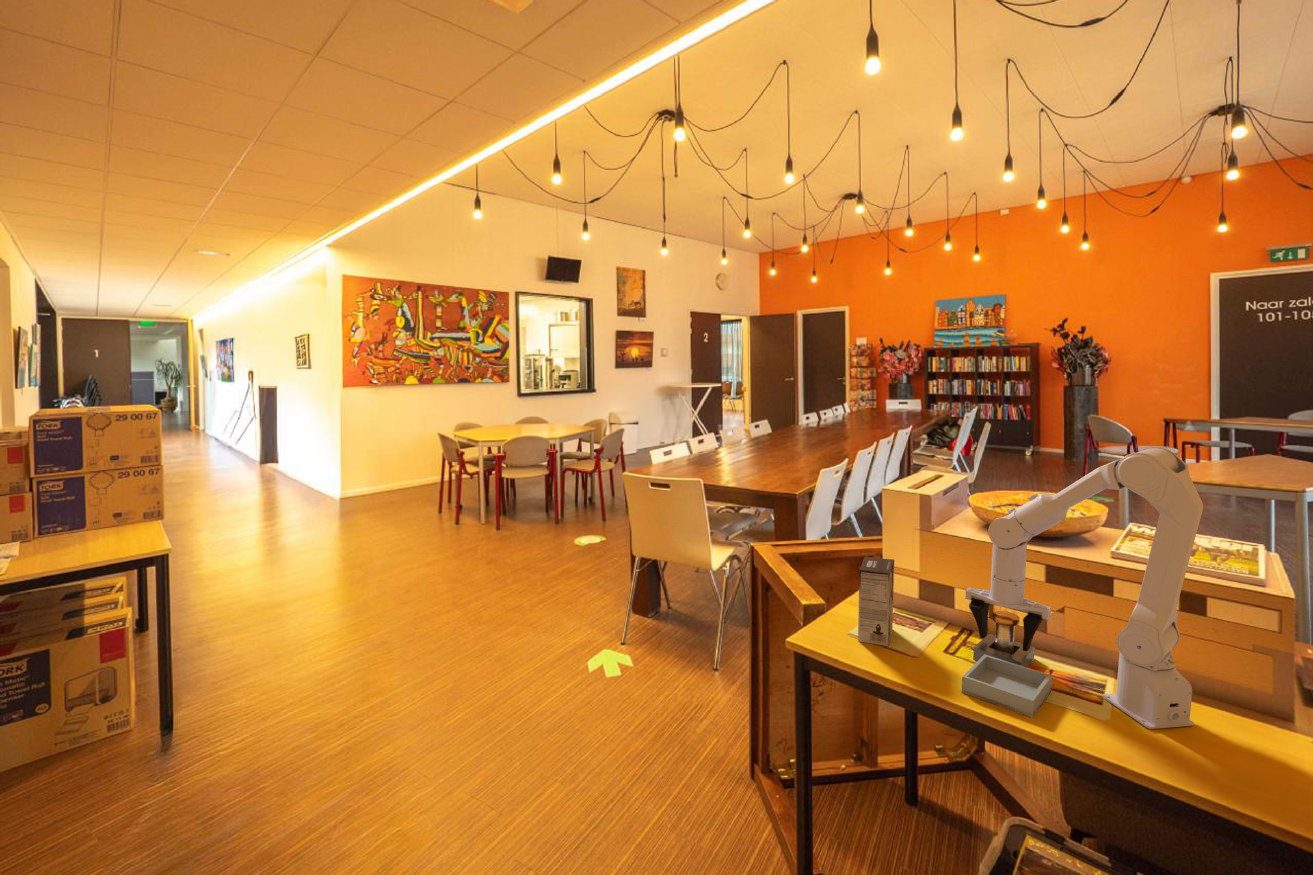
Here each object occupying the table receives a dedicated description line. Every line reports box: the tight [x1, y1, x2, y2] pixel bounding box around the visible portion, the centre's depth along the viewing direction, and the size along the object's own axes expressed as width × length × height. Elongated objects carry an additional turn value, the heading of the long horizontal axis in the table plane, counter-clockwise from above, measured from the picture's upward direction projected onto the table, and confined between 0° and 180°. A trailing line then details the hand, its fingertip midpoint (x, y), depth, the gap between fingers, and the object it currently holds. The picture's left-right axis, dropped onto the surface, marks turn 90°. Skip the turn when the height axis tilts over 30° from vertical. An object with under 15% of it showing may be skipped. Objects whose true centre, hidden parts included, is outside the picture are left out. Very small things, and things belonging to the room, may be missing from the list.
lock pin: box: [991, 610, 1020, 655], centre depth 120 cm, size 5×5×9 cm
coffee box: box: [857, 556, 895, 647], centre depth 131 cm, size 9×6×16 cm
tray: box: [961, 654, 1053, 719], centre depth 109 cm, size 11×11×3 cm
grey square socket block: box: [972, 633, 1036, 668], centre depth 120 cm, size 8×8×2 cm
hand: (1004, 642), depth 120 cm, fingers open, 7 cm apart
